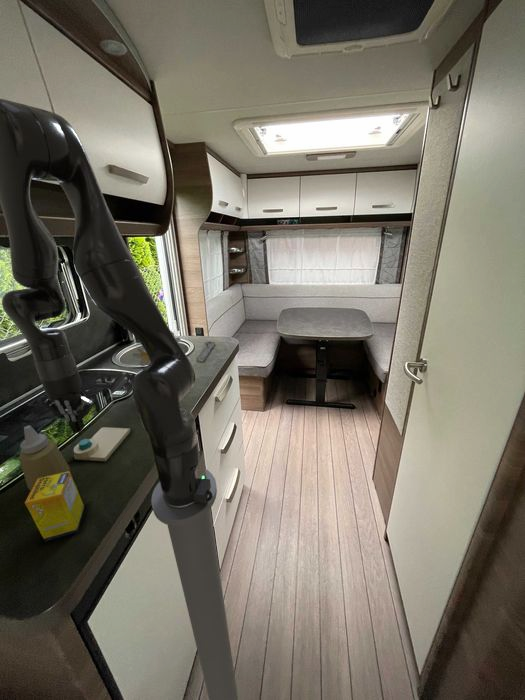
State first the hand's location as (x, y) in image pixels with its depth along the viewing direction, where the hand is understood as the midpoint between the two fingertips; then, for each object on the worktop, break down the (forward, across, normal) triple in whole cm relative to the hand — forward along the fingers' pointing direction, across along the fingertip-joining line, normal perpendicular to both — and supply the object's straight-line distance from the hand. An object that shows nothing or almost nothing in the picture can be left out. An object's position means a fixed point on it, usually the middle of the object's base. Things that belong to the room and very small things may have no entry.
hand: (78, 430), depth 73 cm
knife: (+8, +11, +72) cm, 74 cm away
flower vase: (+8, +10, +30) cm, 33 cm away
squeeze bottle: (+8, 0, -11) cm, 14 cm away
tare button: (+6, 0, 0) cm, 6 cm away
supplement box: (+8, +9, -19) cm, 23 cm away
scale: (+8, +2, +4) cm, 9 cm away
